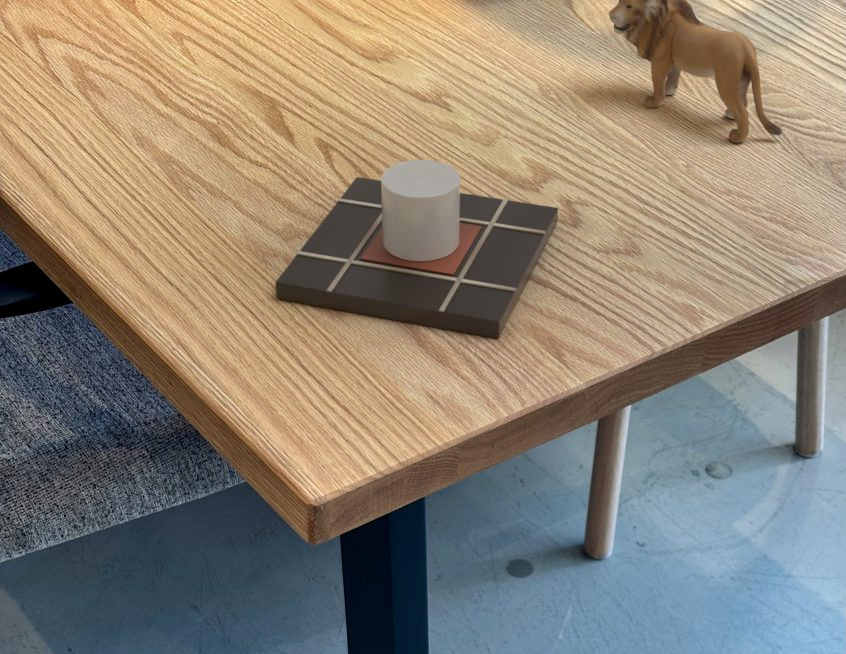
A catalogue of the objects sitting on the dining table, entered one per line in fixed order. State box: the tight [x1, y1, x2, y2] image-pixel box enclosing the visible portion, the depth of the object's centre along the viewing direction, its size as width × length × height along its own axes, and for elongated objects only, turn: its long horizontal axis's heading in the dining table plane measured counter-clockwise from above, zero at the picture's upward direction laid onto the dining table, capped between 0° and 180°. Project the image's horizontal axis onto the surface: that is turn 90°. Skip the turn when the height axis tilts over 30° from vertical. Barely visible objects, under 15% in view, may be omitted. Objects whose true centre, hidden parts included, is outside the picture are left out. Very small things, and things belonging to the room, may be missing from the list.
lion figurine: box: [608, 0, 783, 143], centre depth 96 cm, size 15×5×9 cm, turn 50°
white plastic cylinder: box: [380, 159, 461, 262], centre depth 81 cm, size 5×5×4 cm
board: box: [274, 176, 559, 339], centre depth 83 cm, size 14×14×1 cm
